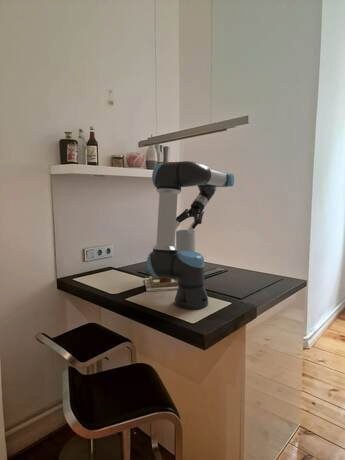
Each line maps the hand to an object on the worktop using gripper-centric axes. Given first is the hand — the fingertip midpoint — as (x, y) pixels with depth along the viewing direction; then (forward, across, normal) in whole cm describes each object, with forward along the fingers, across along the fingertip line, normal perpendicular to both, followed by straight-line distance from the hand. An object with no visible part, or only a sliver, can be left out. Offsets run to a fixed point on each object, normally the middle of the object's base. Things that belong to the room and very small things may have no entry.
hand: (180, 231), depth 175 cm
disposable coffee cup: (+28, 0, -11) cm, 30 cm away
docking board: (+28, 0, -12) cm, 31 cm away
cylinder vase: (+5, +19, -35) cm, 40 cm away
